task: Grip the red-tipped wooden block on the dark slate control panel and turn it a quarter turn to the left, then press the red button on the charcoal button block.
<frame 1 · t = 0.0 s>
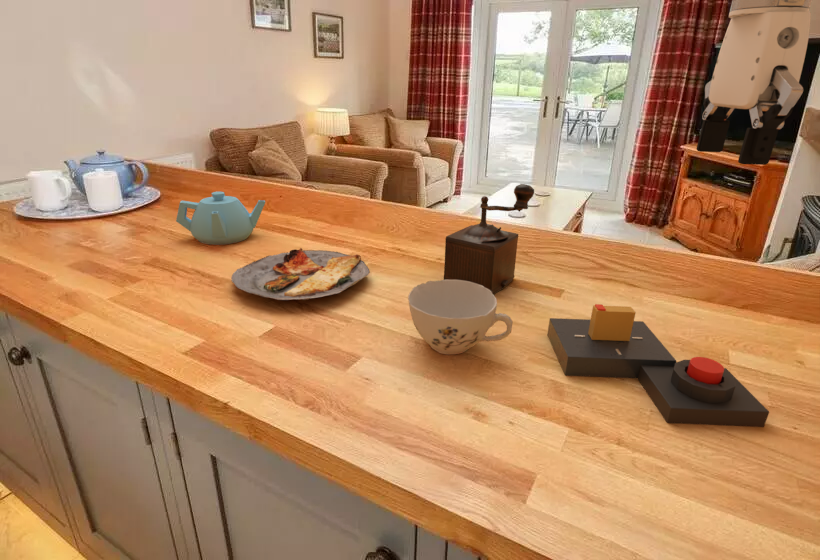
hand: (729, 157, 62), 28 cm above the counter, tool pointing down, fingers open, 9 cm apart
manual coffee grinder: (486, 278, 96), on the counter
teapot: (225, 237, 117), on the counter
red-tipped wooden block: (611, 322, 68), point 5 cm above the counter, hinge at 0.0°
teacup: (457, 348, 72), on the counter
panel: (604, 356, 70), on the counter
button: (705, 370, 59), point 4 cm above the counter, slide at 0.1 cm
button block: (696, 401, 61), on the counter
food plate: (304, 282, 93), on the counter
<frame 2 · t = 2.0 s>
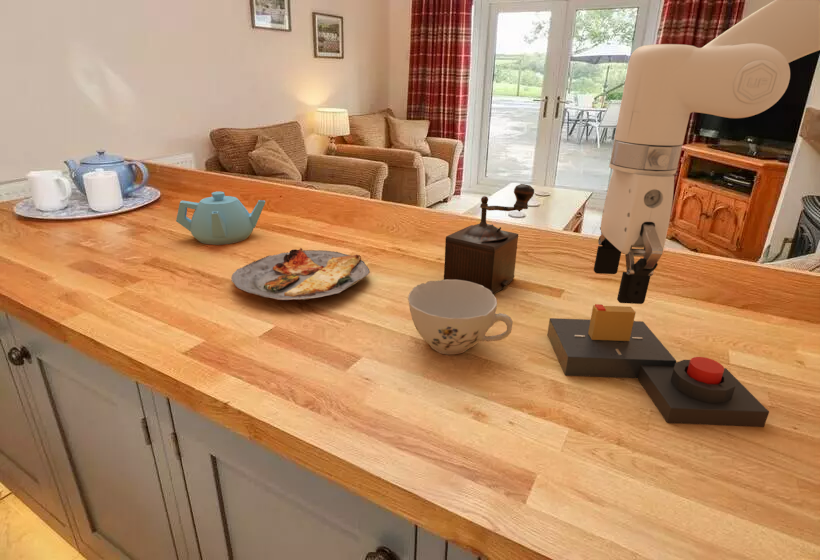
hand: (616, 286, 66), 11 cm above the counter, tool pointing down, fingers open, 9 cm apart
nothing on the counter moved.
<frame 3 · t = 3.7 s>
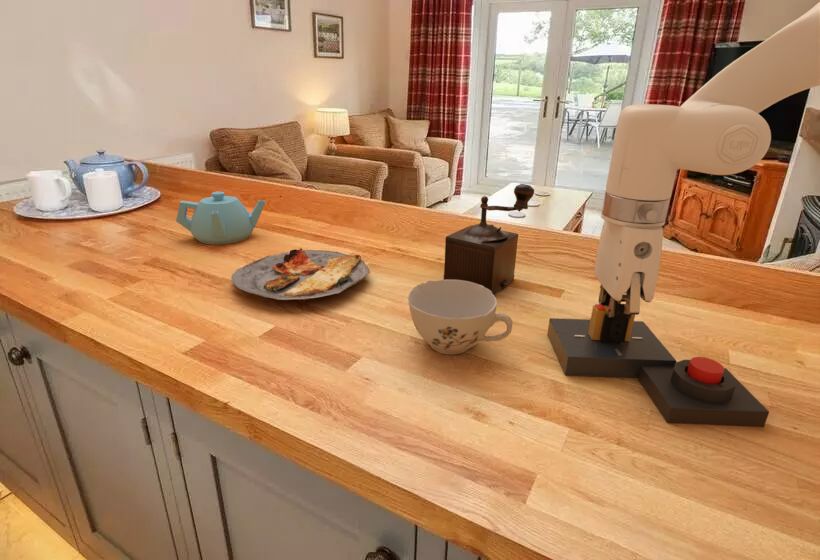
hand: (608, 335, 69), 3 cm above the counter, tool pointing down, fingers closed on red-tipped wooden block, 2 cm apart
red-tipped wooden block: (611, 322, 68), point 5 cm above the counter, hinge at 0.0°, touching gripper
everything else where it was.
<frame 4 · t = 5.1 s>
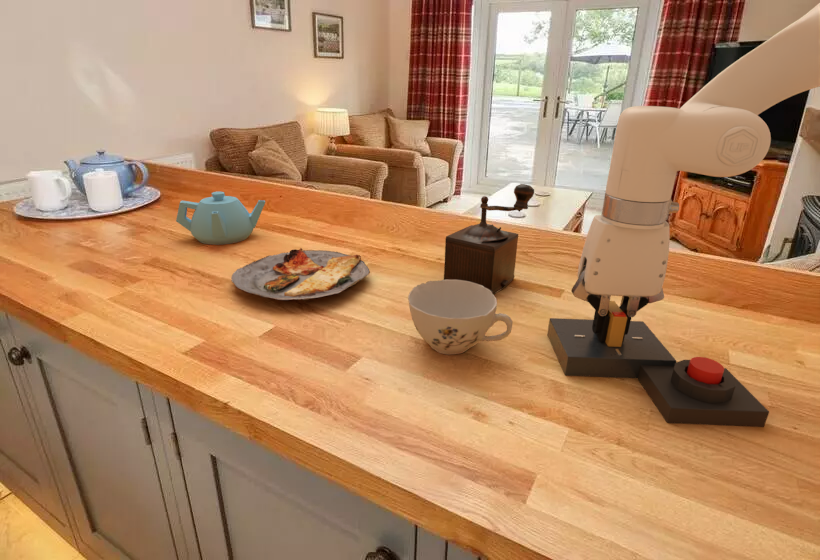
hand: (608, 336, 69), 3 cm above the counter, tool pointing down, fingers closed, pressing on red-tipped wooden block, panel
red-tipped wooden block: (611, 322, 68), point 5 cm above the counter, hinge at 89.5°, touching gripper
everything else where it was.
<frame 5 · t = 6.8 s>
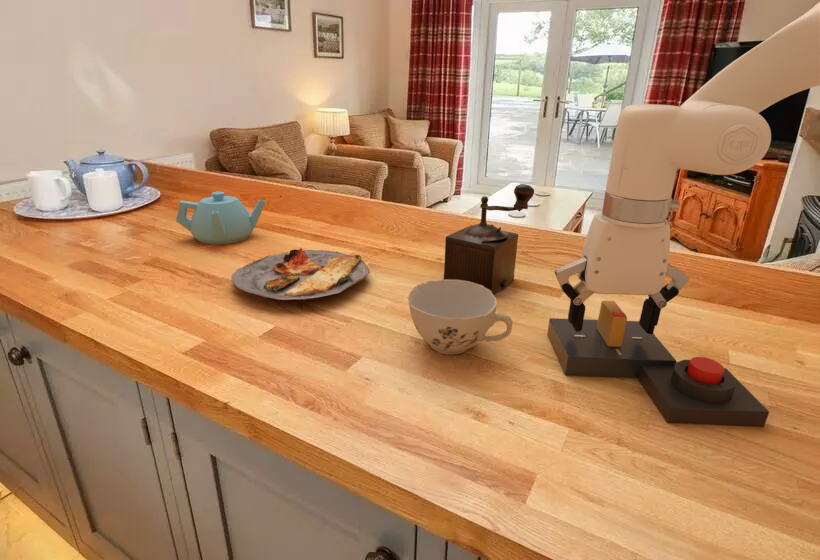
hand: (610, 328, 68), 5 cm above the counter, tool pointing down, fingers open, 9 cm apart
red-tipped wooden block: (611, 322, 68), point 5 cm above the counter, hinge at 89.4°
everything else where it was.
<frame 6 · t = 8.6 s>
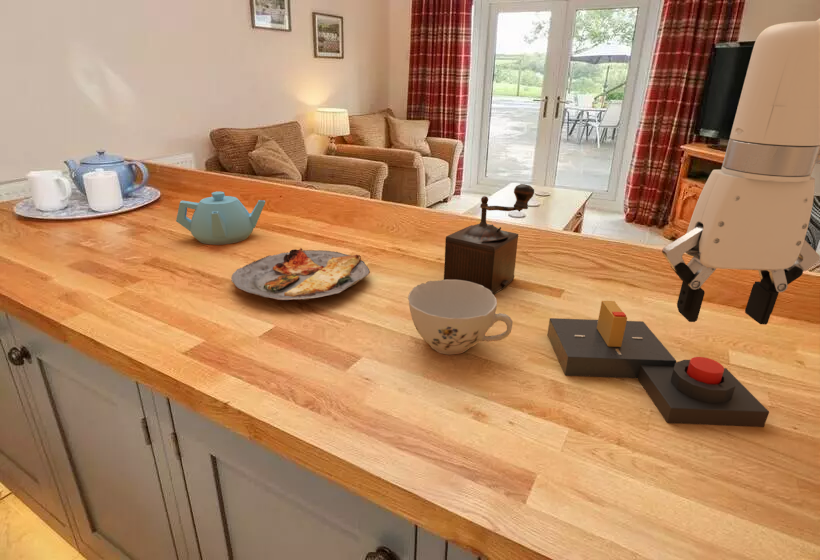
hand: (721, 316, 56), 12 cm above the counter, tool pointing down, fingers open, 7 cm apart
nothing on the counter moved.
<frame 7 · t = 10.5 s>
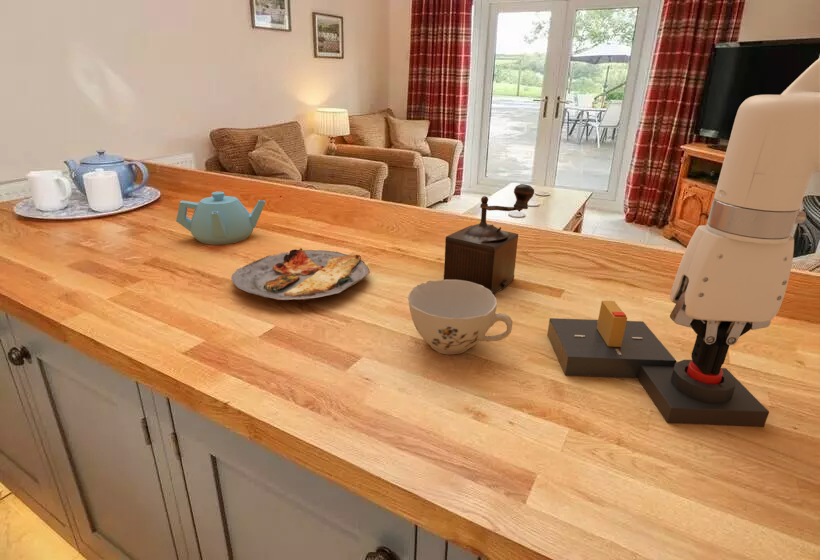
hand: (704, 367, 59), 5 cm above the counter, tool pointing down, fingers closed
button: (704, 374, 59), point 4 cm above the counter, slide at -0.4 cm, touching gripper
everything else where it was.
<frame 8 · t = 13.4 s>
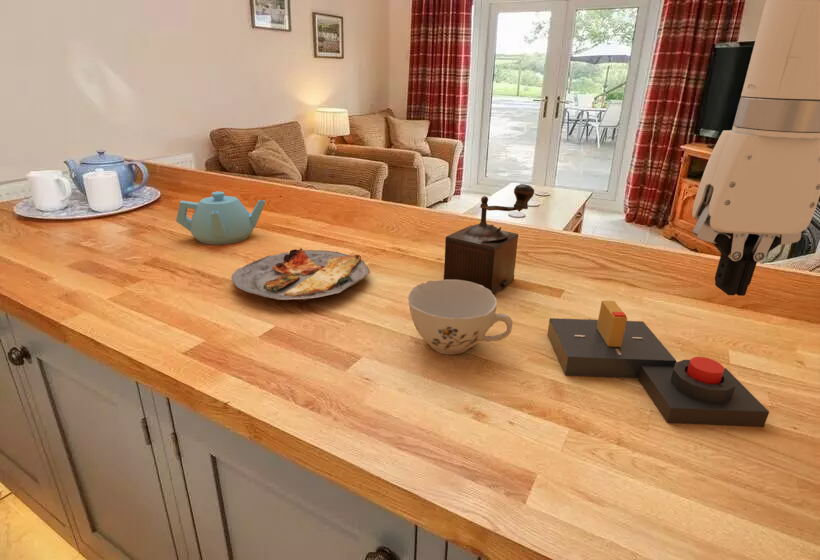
hand: (729, 290, 55), 15 cm above the counter, tool pointing down, fingers closed
button: (705, 370, 59), point 4 cm above the counter, slide at 0.1 cm
everything else where it was.
at the end: red-tipped wooden block at +89° (first picture: +0°); button pushed in 1.1 cm at the most during the clip, back to where it started at the end; button slide at 0.1 cm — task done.
